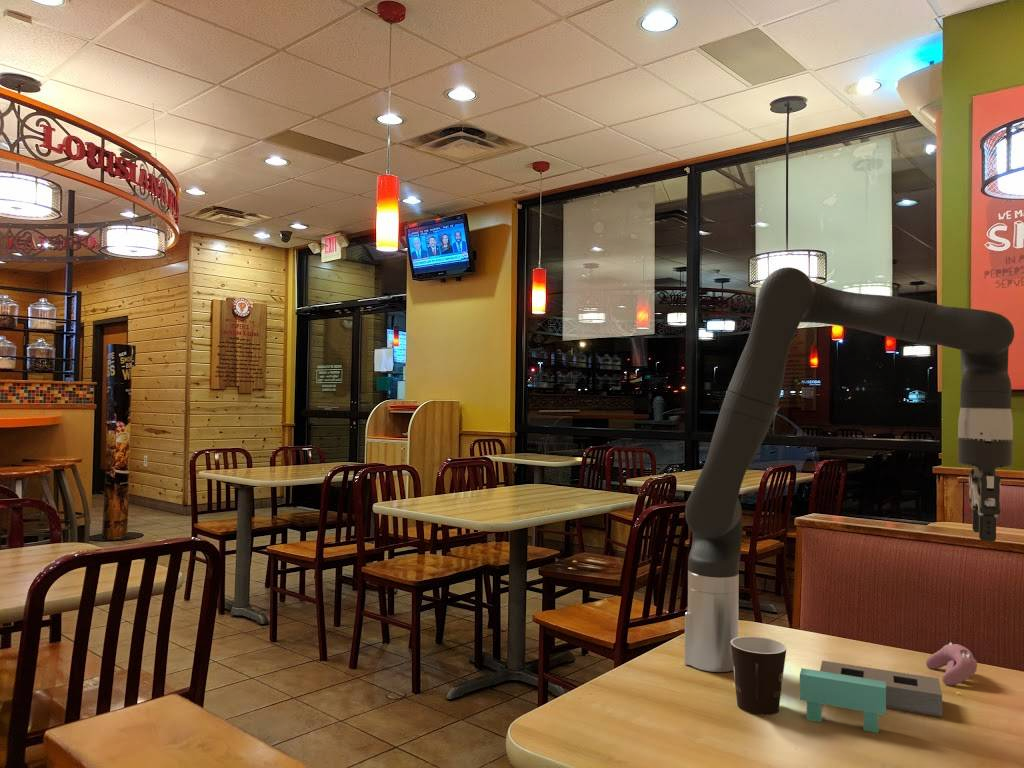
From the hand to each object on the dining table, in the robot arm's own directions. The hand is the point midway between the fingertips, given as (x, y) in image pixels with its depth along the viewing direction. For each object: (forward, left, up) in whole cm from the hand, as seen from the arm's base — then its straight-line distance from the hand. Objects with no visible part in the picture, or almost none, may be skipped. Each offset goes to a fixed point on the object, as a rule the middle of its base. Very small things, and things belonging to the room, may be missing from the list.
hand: (983, 536), depth 121 cm
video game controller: (-3, +15, -28) cm, 32 cm away
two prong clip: (-20, -16, -28) cm, 38 cm away
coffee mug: (-33, -17, -28) cm, 47 cm away
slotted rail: (-15, -2, -28) cm, 32 cm away
